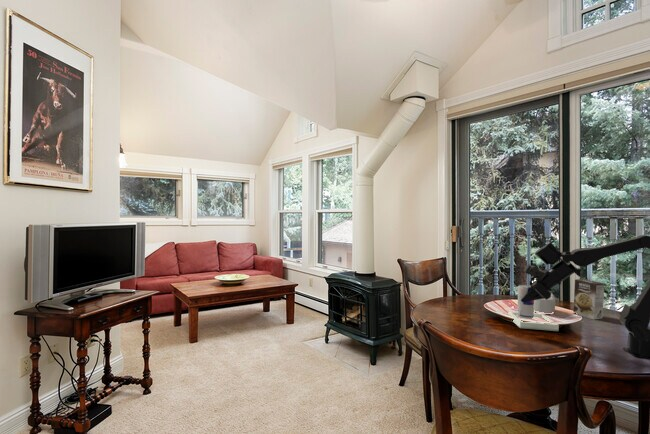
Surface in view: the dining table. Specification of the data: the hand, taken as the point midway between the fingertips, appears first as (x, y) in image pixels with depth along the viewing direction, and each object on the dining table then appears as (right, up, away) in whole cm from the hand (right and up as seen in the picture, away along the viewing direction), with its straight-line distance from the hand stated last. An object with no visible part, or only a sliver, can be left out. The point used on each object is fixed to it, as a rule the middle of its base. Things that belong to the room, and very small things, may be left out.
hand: (521, 299), depth 129 cm
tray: (+11, -13, +11) cm, 21 cm away
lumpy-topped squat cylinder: (+27, -13, +30) cm, 42 cm away
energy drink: (+1, -7, -1) cm, 7 cm away
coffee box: (+44, -14, +23) cm, 52 cm away
